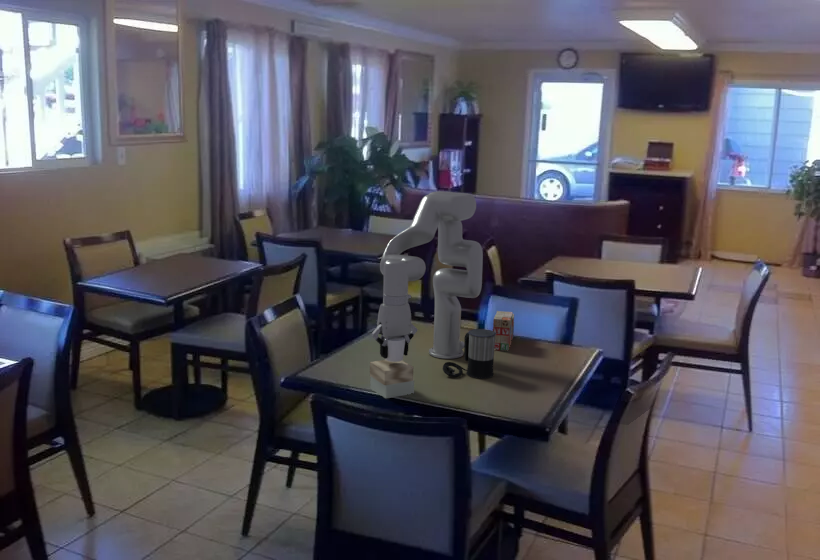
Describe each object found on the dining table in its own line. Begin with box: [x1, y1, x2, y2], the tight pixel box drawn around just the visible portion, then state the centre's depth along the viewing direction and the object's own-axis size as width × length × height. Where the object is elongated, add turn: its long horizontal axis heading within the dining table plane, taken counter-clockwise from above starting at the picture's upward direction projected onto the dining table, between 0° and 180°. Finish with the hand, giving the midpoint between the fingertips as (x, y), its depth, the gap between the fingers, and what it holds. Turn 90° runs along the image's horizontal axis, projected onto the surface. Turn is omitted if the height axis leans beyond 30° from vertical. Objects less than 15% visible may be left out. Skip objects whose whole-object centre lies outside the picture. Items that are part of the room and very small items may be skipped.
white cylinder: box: [384, 336, 405, 362], centre depth 246 cm, size 7×7×7 cm
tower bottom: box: [369, 375, 415, 399], centre depth 248 cm, size 10×10×4 cm
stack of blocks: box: [492, 310, 515, 351], centre depth 304 cm, size 21×6×12 cm, turn 168°
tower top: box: [369, 359, 414, 385], centre depth 247 cm, size 10×10×4 cm
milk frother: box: [442, 328, 496, 379], centre depth 264 cm, size 14×16×15 cm
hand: (394, 355), depth 246 cm, fingers open, 6 cm apart
